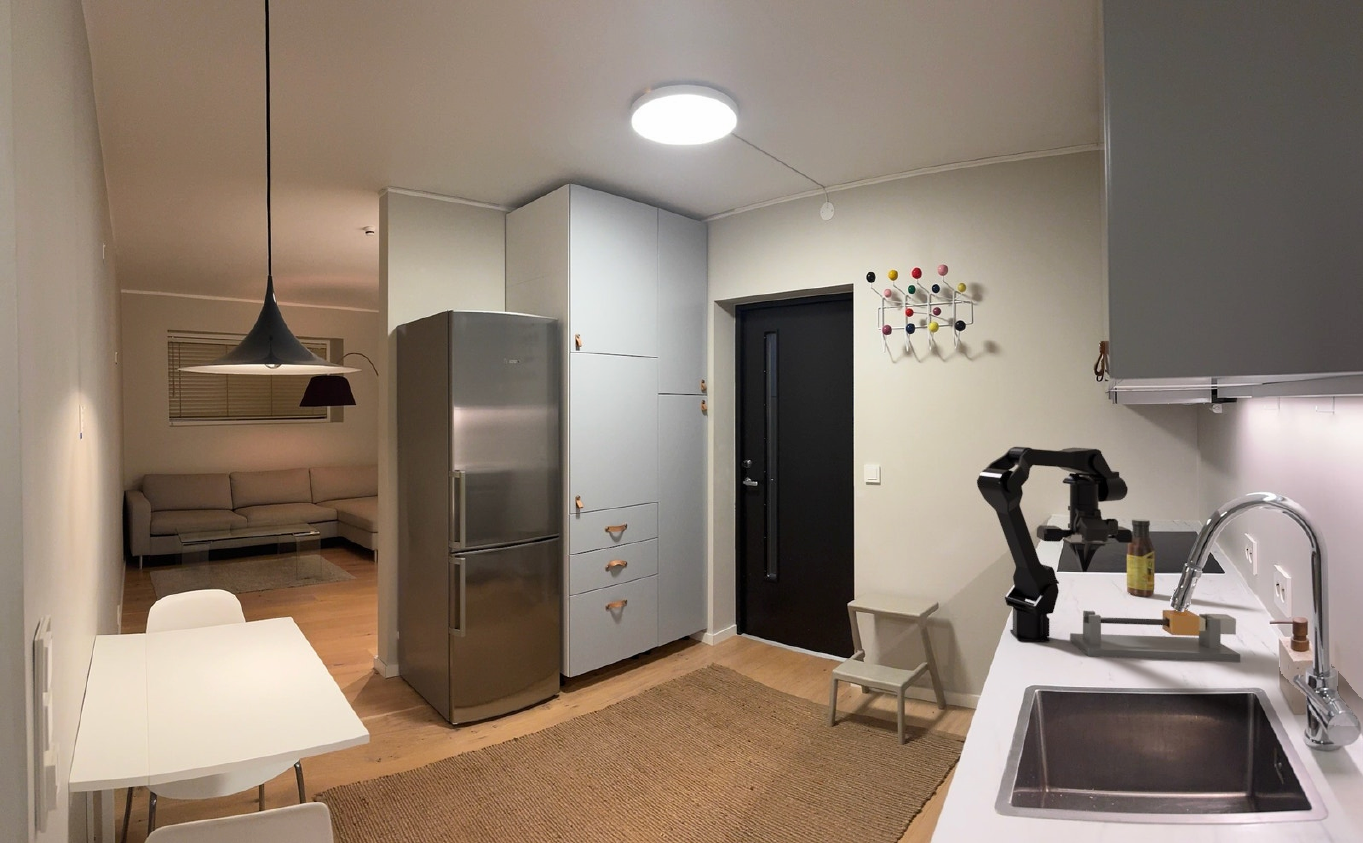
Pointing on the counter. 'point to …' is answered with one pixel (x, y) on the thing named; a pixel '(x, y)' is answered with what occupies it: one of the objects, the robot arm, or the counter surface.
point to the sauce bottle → (1140, 560)
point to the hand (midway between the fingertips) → (1083, 571)
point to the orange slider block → (1181, 623)
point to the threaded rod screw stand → (1158, 640)
